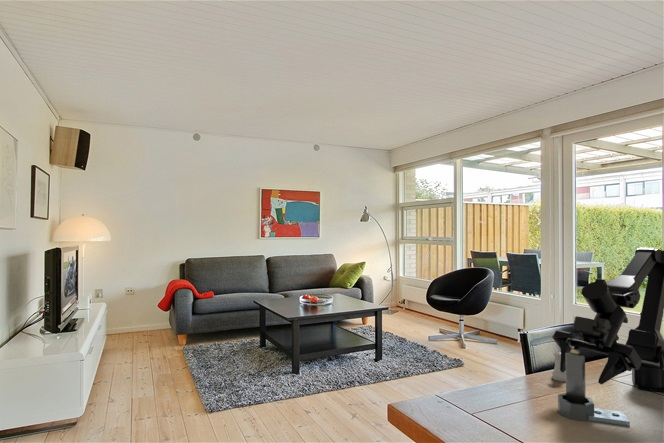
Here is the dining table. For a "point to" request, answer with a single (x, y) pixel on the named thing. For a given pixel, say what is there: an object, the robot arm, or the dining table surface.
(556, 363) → the rook chess piece
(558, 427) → the dining table surface
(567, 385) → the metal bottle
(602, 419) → the hinge leaf
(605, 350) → the robot arm
